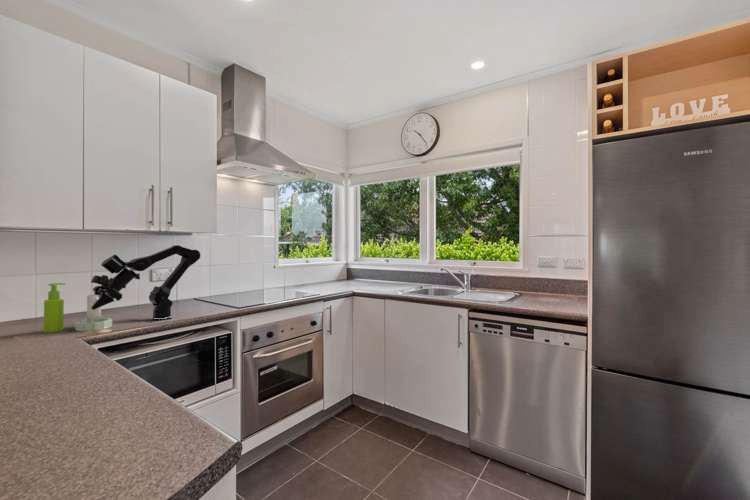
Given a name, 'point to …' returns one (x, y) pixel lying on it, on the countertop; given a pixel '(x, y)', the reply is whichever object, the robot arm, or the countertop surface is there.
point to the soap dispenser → (53, 310)
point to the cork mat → (96, 331)
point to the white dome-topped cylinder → (92, 314)
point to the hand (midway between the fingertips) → (90, 308)
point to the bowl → (93, 324)
